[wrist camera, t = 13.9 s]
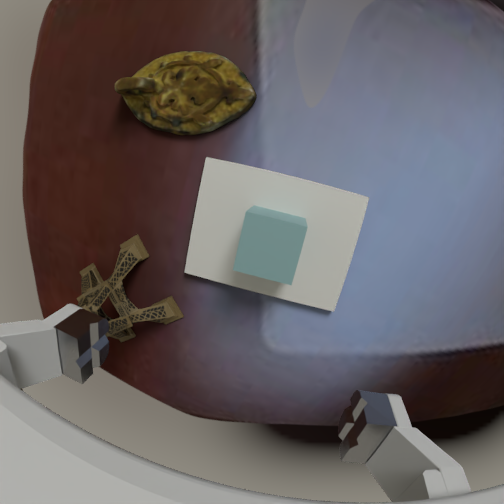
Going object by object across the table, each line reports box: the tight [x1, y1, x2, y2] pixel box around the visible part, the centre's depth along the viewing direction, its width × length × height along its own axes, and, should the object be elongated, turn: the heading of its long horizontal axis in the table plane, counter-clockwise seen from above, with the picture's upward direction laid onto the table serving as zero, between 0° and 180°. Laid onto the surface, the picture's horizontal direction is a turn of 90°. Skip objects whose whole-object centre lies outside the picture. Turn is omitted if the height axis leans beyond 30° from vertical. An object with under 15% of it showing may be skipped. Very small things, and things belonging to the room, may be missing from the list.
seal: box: [115, 51, 256, 135], centre depth 26 cm, size 9×5×15 cm
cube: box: [233, 205, 308, 285], centre depth 27 cm, size 5×5×5 cm
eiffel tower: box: [21, 234, 184, 391], centre depth 22 cm, size 11×11×25 cm
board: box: [184, 157, 369, 312], centre depth 30 cm, size 16×12×1 cm
